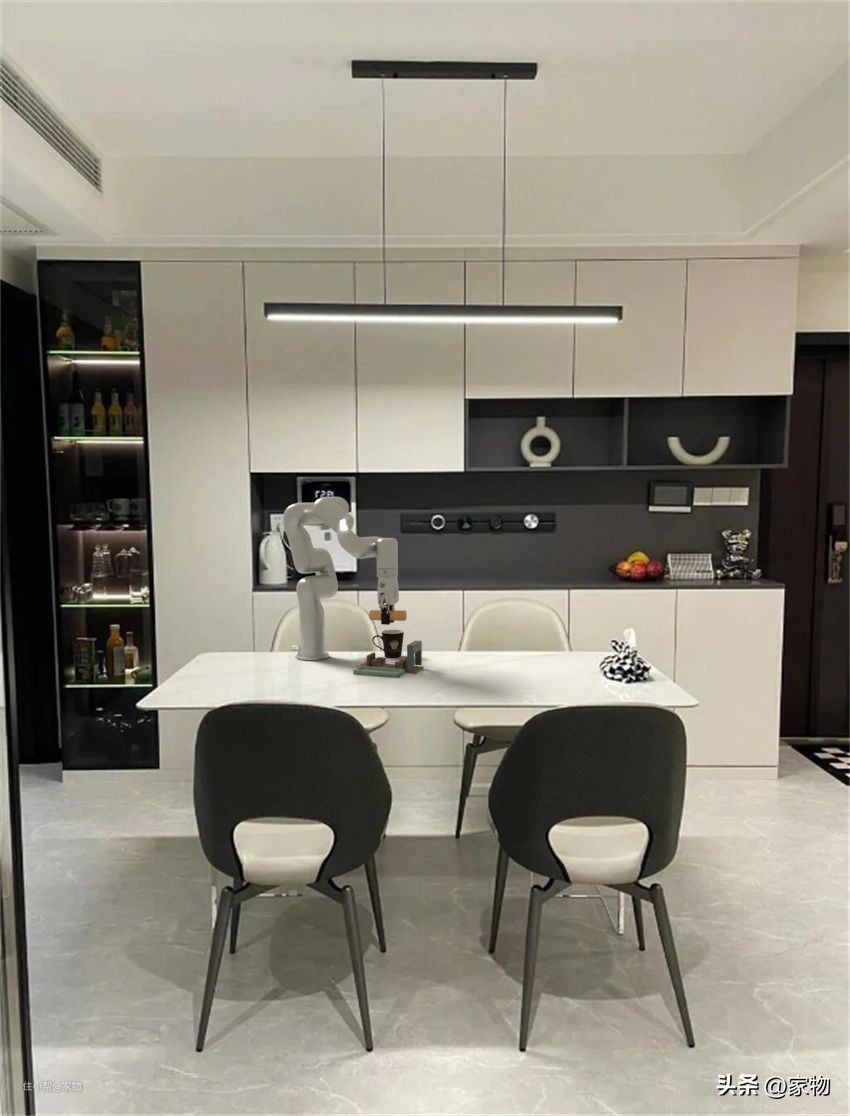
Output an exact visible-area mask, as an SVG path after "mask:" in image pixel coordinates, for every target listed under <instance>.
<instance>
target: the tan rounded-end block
mask: <svg viewBox="0 0 850 1116" xmlns="http://www.w3.org/2000/svg"><path fill="white" fill-rule="evenodd" d="M407 613H408V612H407V611H406V610H395V609H394V610H389V614H390V621H394V622H395V621H398V622H399V621H400V622H401V621H402V622H403V621H406V620H407V619H408V618H407ZM368 618H369V620H370V621H381V609H380V610H379V609H376V610H375V609H371V610H370V611H369V613H368Z"/></svg>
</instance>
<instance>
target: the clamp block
mask: <svg viewBox="0 0 850 1116" xmlns="http://www.w3.org/2000/svg"><path fill="white" fill-rule="evenodd" d="M360 666H370V667H383V668H396V669H405V674H414V675H415V674H416V675H417V674H418V673H421V672H422V671H423V670H424V669H425V668H424V666H423V665H414V670H407V657H405V658H399V659H398V660H396V661H395V662H394V663H387V658H385V656H384V657H383V656H382V657H381V656H377V657H376V652H371V653H369V654H367V655H366V661H364V662H362V663H360V664H359V665H357V666H356V668H358V667H360Z"/></svg>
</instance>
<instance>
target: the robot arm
mask: <svg viewBox="0 0 850 1116" xmlns="http://www.w3.org/2000/svg"><path fill="white" fill-rule="evenodd" d="M349 511H350V506H349V503H348V501H347V500H346V499H345V498H343V497H340V496H324V497H320V498H318V499H316V500H315V501H314V502H296V503H293V504H291V505H289V506H288V507H286V509H285V510H284V513H283V514H282V515H283V516H282V524H283V529H284V532H285V534H286V537H287V539H288V544H289V548H290V552H291V556H292V561H293V565H294V567H295V570H296V571H297V572H298V573H300V574H313V573H315V575H311V576H310V575H309V576H305V577H302V578H301V579H300V580H298V582H297V585H296V597H297V602H298V610H299V645H292V646H291V652H297V654H295V655H296V658H297V660H302V661H319V660H326V659H328V658H329V657H330V653H329V652H327V651H326V637H325V636H326V635H325V633H326V631H325V627H326V626H325V609H324V606H323V604H322V603H321V600H325V599H330V598H331V599H332V598H333V597H334V596H336V594H337V593H338V589H339V583H338V579H337V573H336V569H335V566H334V561H333V559H332V555H331V554H330V553H329V551H328V550H327V549H325V548H323V547H314V545H313V542H312V538H311V535H310V533H309V532H308V530H307V529H306V528H305V527H304V525H306V526H307V525H320V524H325V525H327V526H328V527H329V528H330V529H331V530H332V531H334V532H335V533H336V537H337V542H338V543H339V545H340V546H341V547H342V549H344V550H345V551H346V552H347V553H348V554H349V555H351V556H352V557H354V558H355V559H358V560H360V559H369V558H376V577H377V579H378V580H377V604H378V606H379V607H378V608H380V610H381V620H380V623H381V625H386V626H389V625H390V624H393V623H395V621H390V614H389V610H395V604H398V602H399V600H400V598H399V597H400V593H399V581H398V577H399V556H398V555H399V553H398V550H399V548H398V543H399V542H398V539H397V538H395V537H380V536H361V537H360V536H358V535H357V534H356V533H355V532H353V531H352V529H353V527H354V525H355V518H354V517H353V515H352V514H350V513H349Z"/></svg>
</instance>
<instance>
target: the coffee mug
mask: <svg viewBox="0 0 850 1116" xmlns="http://www.w3.org/2000/svg"><path fill="white" fill-rule="evenodd" d="M404 634H405V631H404V630H402V629H384V630H382V631H381V635H377V634H376V635H374V636H373V637H372V640H371V641H372V644H373V645H374V646H376V648H379V649H380V650H382V651H383V653H384V657H386V659H388V658H397V659H400V658H399V657H401V658H402V653H403V643H404V636H405V635H404ZM376 637H377V638H380V639H381V641H382V644H383V647H381V646H379V645H377V644H376V643H375V639H376Z"/></svg>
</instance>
